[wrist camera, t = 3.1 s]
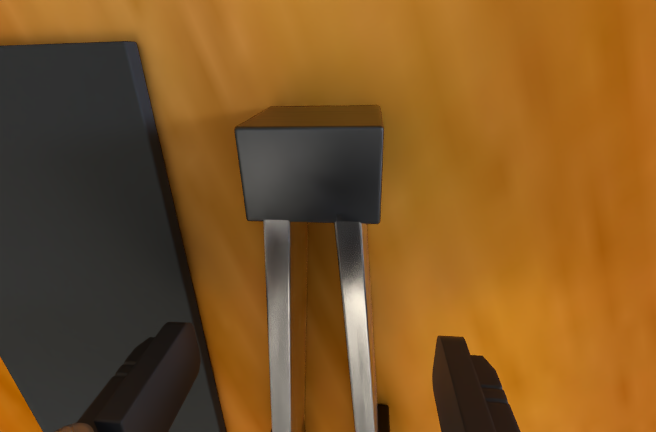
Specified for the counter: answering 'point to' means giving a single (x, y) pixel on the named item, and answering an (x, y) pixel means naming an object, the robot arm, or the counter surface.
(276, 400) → the tongs
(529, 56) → the counter surface
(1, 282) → the mat
